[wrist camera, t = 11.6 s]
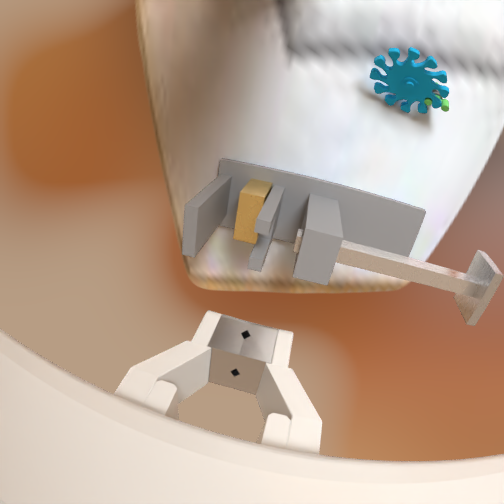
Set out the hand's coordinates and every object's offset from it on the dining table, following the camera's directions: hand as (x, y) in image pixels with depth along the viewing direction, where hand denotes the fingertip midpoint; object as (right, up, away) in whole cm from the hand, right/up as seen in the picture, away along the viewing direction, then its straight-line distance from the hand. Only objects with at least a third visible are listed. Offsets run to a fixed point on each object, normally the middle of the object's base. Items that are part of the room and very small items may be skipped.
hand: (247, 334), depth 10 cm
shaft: (+19, +2, +26) cm, 32 cm away
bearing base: (+10, +8, +33) cm, 35 cm away
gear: (+20, +25, +22) cm, 39 cm away
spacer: (+1, +10, +33) cm, 34 cm away
